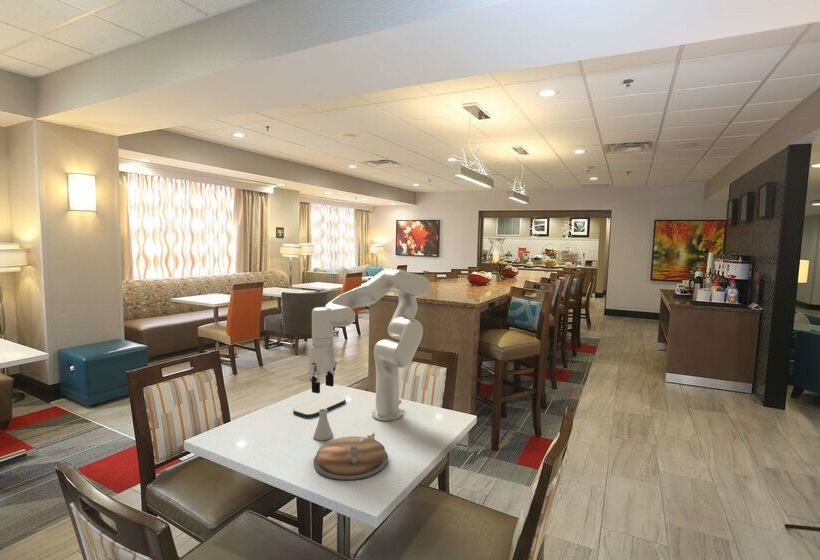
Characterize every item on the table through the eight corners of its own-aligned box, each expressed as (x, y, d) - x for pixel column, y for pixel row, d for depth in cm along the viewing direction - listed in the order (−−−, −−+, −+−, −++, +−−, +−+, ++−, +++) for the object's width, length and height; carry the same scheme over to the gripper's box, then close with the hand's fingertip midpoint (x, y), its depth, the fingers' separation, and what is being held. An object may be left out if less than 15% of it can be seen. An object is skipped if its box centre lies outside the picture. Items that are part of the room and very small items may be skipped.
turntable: (315, 445, 148) (315, 425, 148) (378, 439, 154) (379, 420, 153) (317, 479, 127) (317, 456, 127) (391, 470, 132) (391, 448, 132)
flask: (328, 442, 154) (328, 414, 153) (309, 440, 155) (309, 413, 155) (336, 433, 161) (336, 407, 160) (317, 431, 163) (317, 405, 162)
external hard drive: (309, 420, 174) (309, 415, 173) (290, 414, 180) (289, 409, 180) (348, 403, 193) (348, 398, 193) (329, 397, 200) (329, 393, 199)
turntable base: (344, 436, 159) (344, 425, 158) (403, 449, 149) (403, 438, 148) (297, 470, 134) (297, 457, 134) (364, 488, 125) (364, 475, 124)
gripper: (328, 336, 165) (328, 381, 166) (298, 345, 149) (299, 395, 150) (344, 338, 162) (344, 383, 163) (316, 347, 146) (316, 398, 147)
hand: (322, 388), depth 157 cm, fingers open, 7 cm apart
